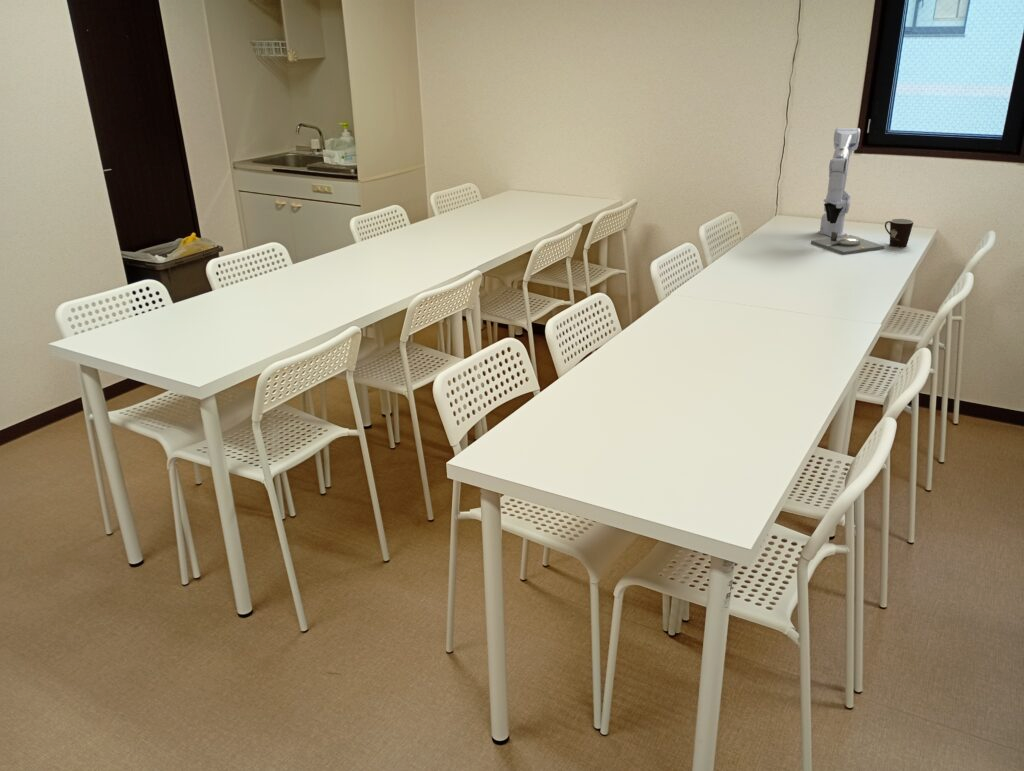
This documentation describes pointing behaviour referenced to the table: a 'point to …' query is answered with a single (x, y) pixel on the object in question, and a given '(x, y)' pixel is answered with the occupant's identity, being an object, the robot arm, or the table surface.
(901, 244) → the coffee mug
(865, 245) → the panel
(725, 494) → the table surface
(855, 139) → the robot arm
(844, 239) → the dial
